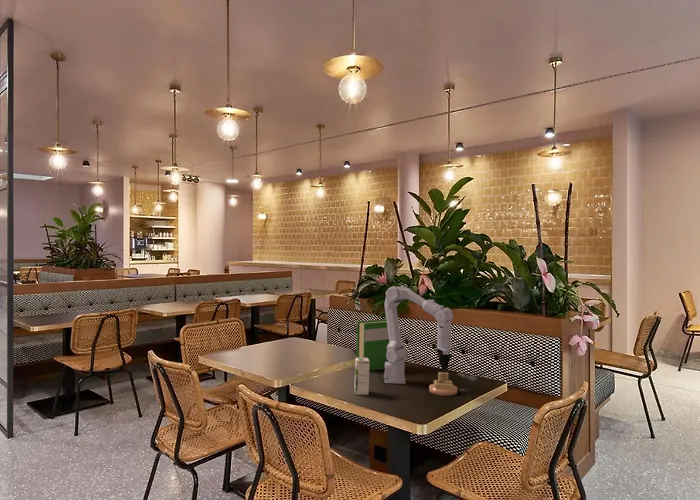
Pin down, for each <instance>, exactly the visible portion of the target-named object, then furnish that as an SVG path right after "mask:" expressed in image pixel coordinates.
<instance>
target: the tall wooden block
mask: <svg viewBox="0 0 700 500" xmlns="http://www.w3.org/2000/svg"><path fill="white" fill-rule="evenodd" d="M437 373H438V374H437V375H438V376H437V377H438V379H437V380H438V383H442V384H448V381H449V372H441V371H439V372H437Z"/></svg>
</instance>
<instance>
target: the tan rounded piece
mask: <svg viewBox="0 0 700 500" xmlns="http://www.w3.org/2000/svg"><path fill="white" fill-rule="evenodd" d="M428 391H429V393H431V394H433V395H435V396H443V397H444V396H445V397H450V396H455V395H457V394H458V386H456V385H454V384H453V382H452V380H448V384H442V383H438V379H433V383H431V384H429V386H428Z"/></svg>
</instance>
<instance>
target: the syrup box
mask: <svg viewBox="0 0 700 500" xmlns="http://www.w3.org/2000/svg"><path fill="white" fill-rule="evenodd" d="M354 359H355V360H354V362H355V363H354V383H353V384H354V388H353V389H354V390H353V391H354V395H355V396H360V395H361V396H364V395H365V396H366V395H367V396H368V395H369V391H370V388H369V387H370V371H369V359H368V358H357V357H355V358H354Z"/></svg>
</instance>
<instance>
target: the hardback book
mask: <svg viewBox="0 0 700 500" xmlns="http://www.w3.org/2000/svg"><path fill="white" fill-rule="evenodd" d="M388 344H389V334H388V327H387V320H386V319H376V320H375V319H372V320H361V321H356V358H368V359H369V372H370V371H371V370H372V371H378V369H379V370H385V369H384V368H385V362H389V361H388V360H387V358H386V353H387V346H388ZM372 371H371V372H372Z"/></svg>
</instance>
